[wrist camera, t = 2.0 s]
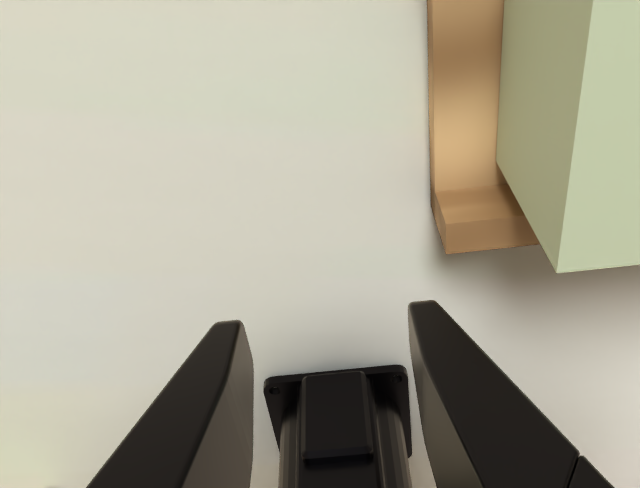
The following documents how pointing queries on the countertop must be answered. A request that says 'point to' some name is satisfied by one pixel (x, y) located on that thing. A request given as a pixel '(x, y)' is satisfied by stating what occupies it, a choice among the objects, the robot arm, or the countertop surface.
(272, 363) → the countertop surface
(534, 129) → the pale green block
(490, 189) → the bay
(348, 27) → the countertop surface
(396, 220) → the countertop surface
